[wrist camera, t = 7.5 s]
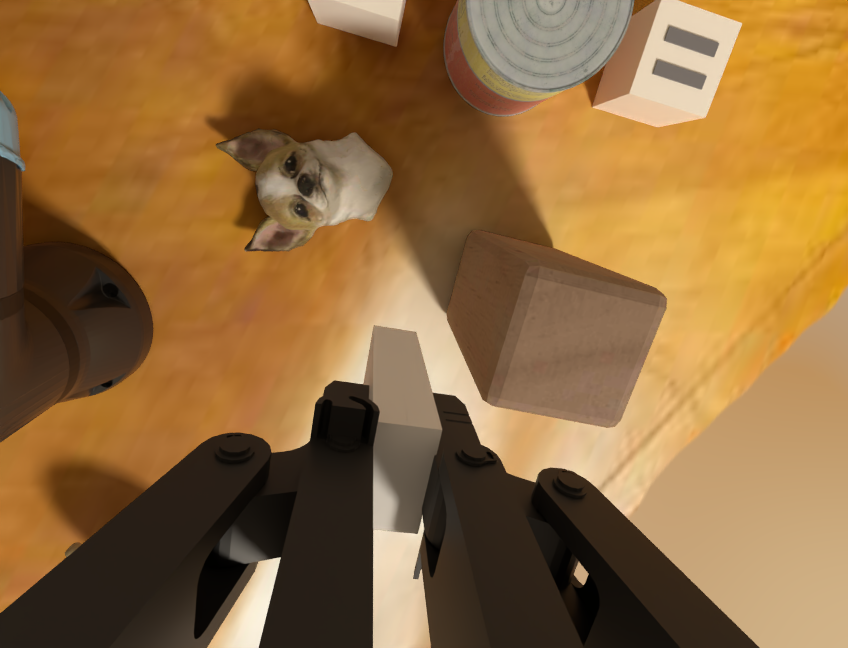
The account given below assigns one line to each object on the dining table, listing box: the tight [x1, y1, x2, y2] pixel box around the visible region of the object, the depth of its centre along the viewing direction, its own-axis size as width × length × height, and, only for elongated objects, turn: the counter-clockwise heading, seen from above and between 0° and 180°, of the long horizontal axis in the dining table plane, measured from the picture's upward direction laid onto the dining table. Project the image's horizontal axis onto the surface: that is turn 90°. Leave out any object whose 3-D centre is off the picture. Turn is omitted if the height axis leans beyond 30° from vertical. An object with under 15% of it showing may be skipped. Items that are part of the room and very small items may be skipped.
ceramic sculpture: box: [216, 129, 393, 251], centre depth 39 cm, size 11×9×15 cm
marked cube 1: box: [592, 0, 742, 127], centre depth 39 cm, size 7×7×7 cm
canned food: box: [443, 0, 634, 116], centre depth 35 cm, size 11×11×12 cm
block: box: [447, 230, 667, 428], centre depth 38 cm, size 10×10×20 cm
